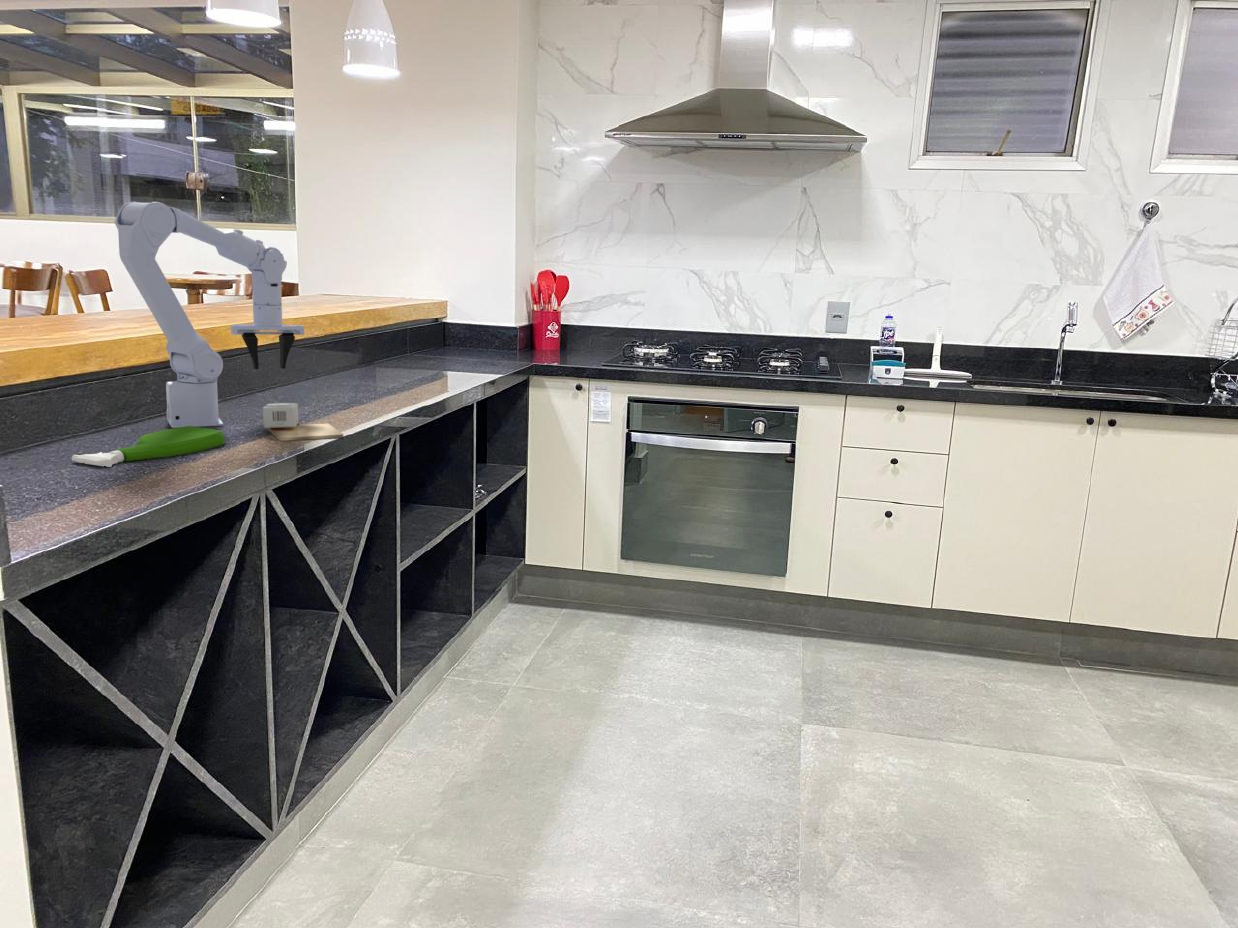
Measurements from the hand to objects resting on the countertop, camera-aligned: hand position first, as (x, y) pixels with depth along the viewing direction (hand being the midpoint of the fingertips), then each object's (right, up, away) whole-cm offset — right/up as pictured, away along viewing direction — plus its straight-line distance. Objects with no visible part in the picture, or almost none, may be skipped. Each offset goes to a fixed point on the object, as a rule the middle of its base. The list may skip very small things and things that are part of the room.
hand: (269, 368), depth 191 cm
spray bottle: (-6, -19, -36) cm, 41 cm away
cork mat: (+13, -15, -14) cm, 24 cm away
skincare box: (+8, -12, -17) cm, 22 cm away
